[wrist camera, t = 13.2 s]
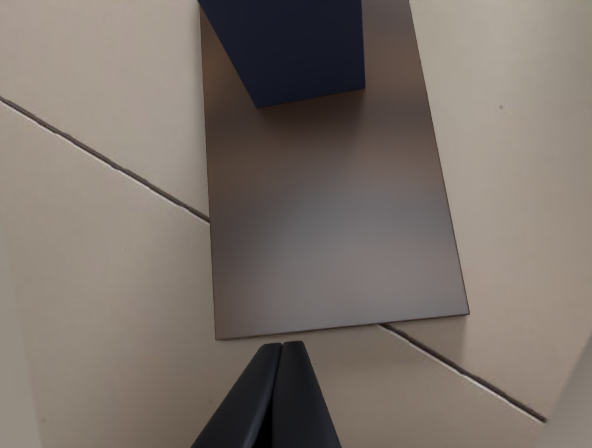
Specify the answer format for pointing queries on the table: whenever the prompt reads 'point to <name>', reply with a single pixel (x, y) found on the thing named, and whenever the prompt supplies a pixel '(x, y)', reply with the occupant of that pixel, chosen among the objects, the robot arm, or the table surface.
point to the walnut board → (329, 196)
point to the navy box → (291, 46)
